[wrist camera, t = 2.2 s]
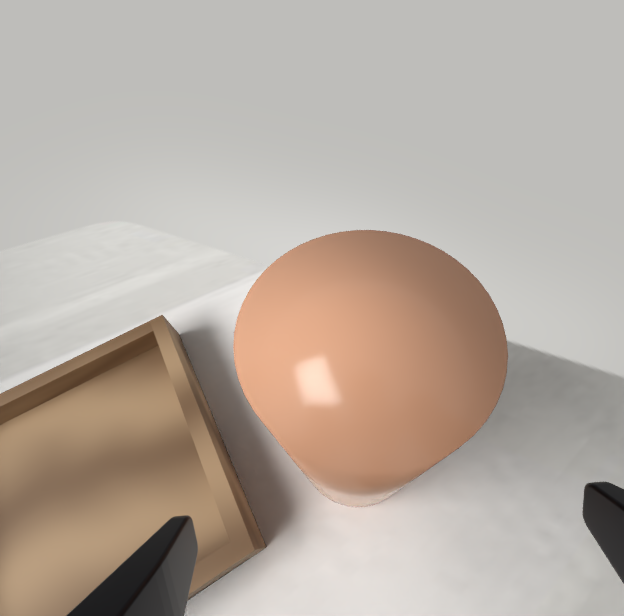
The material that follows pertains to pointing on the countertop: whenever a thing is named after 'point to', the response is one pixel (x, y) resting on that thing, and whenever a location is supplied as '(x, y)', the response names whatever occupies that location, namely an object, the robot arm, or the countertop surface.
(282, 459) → the countertop surface
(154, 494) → the walnut tray
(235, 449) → the countertop surface
